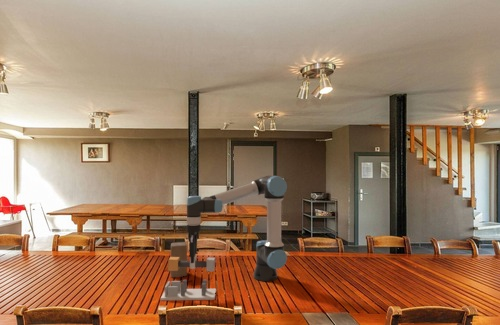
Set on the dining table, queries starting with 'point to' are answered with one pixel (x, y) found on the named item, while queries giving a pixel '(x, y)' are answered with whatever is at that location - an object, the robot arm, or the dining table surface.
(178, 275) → the wooden block
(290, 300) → the dining table surface
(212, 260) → the rod with end blocks
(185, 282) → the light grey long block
